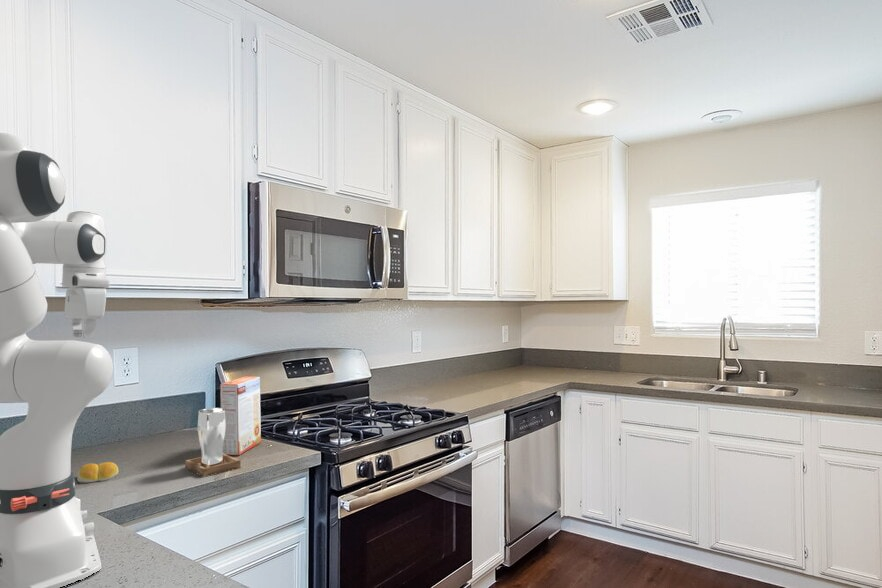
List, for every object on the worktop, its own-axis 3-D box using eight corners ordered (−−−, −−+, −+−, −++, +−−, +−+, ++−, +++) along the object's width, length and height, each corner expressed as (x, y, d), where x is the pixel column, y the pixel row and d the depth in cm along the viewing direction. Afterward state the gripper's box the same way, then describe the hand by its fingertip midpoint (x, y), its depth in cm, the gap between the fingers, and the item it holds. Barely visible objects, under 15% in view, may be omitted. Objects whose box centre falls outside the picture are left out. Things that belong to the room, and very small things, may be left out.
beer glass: (229, 461, 154) (229, 407, 154) (220, 470, 147) (220, 413, 147) (203, 462, 154) (203, 407, 154) (193, 470, 147) (193, 413, 147)
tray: (240, 467, 151) (240, 460, 151) (203, 477, 143) (203, 469, 143) (221, 459, 158) (221, 452, 158) (185, 467, 151) (185, 460, 151)
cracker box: (243, 442, 176) (243, 375, 176) (261, 443, 175) (261, 376, 175) (219, 455, 162) (219, 383, 162) (239, 456, 161) (238, 383, 161)
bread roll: (118, 479, 142) (118, 463, 142) (76, 486, 138) (76, 469, 138) (118, 470, 149) (118, 455, 149) (78, 476, 145) (78, 460, 145)
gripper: (58, 281, 140) (56, 336, 140) (80, 278, 126) (78, 340, 126) (87, 282, 145) (85, 335, 144) (111, 279, 131) (110, 339, 130)
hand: (82, 337), depth 135 cm, fingers open, 8 cm apart
